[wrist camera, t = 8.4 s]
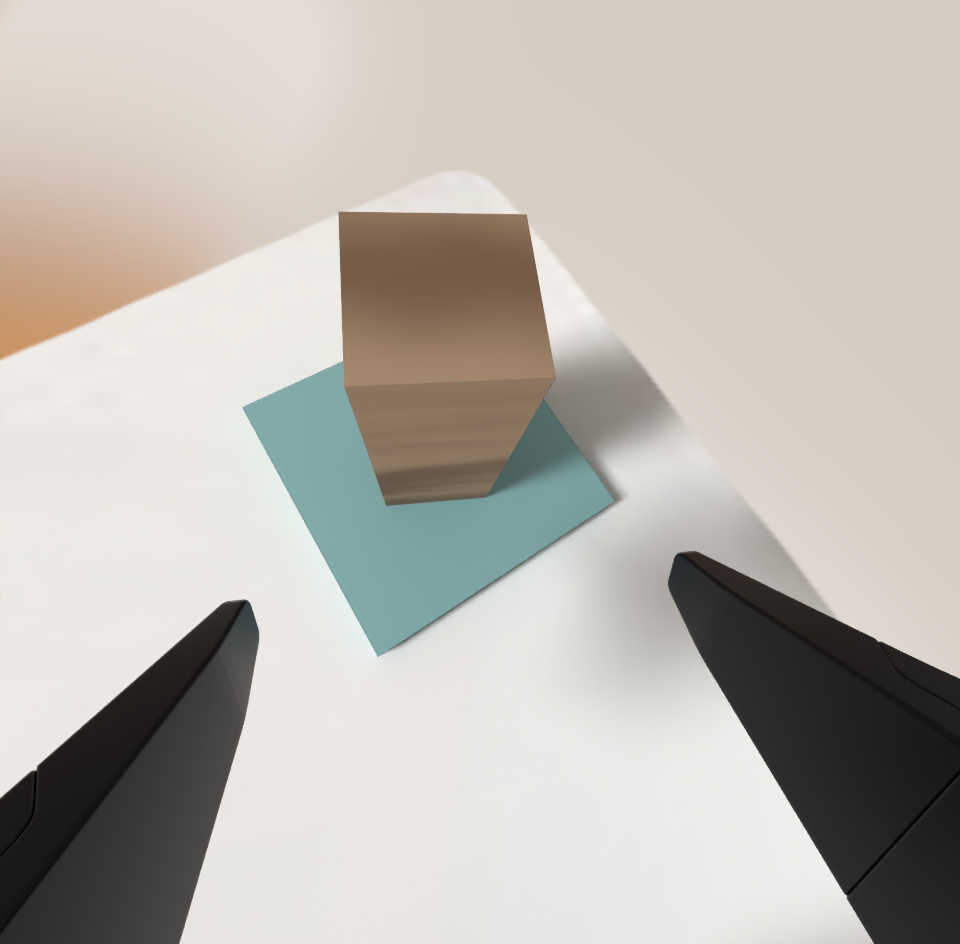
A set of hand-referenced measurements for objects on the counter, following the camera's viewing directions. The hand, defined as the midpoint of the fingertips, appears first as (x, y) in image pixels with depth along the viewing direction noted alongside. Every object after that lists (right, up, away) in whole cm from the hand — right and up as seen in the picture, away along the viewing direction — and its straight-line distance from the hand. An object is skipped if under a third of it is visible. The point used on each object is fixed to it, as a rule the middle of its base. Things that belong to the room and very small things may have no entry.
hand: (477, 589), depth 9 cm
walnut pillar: (-2, +3, +14) cm, 14 cm away
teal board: (-3, +3, +15) cm, 15 cm away
